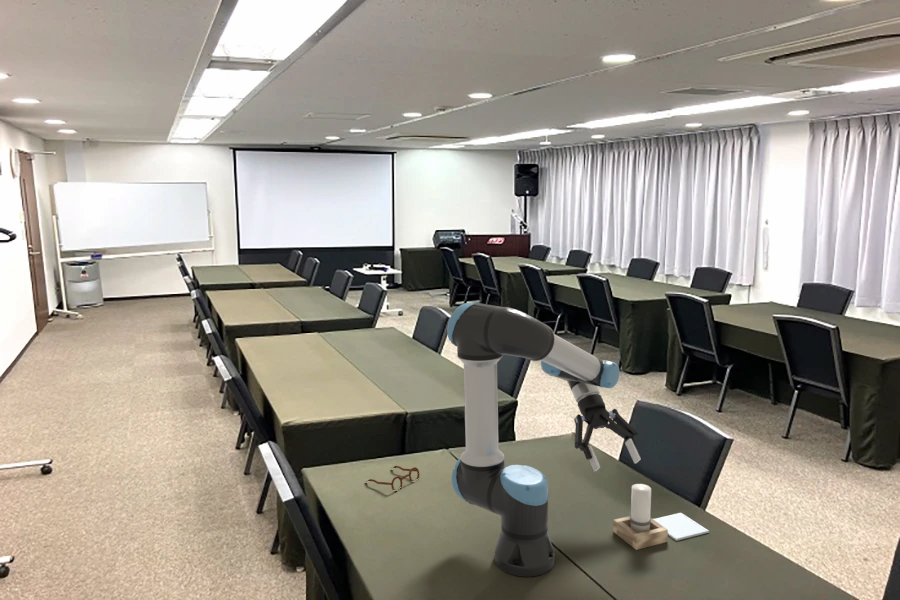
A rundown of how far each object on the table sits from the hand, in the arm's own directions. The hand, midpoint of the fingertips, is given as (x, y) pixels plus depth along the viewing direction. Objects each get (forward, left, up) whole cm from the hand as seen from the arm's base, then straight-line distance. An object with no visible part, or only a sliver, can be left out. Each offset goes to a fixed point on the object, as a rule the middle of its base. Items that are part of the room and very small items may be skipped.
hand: (617, 465), depth 181 cm
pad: (+13, -11, -16) cm, 23 cm away
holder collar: (0, -11, -16) cm, 19 cm away
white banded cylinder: (0, -11, -16) cm, 19 cm away
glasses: (-52, +49, -17) cm, 74 cm away
